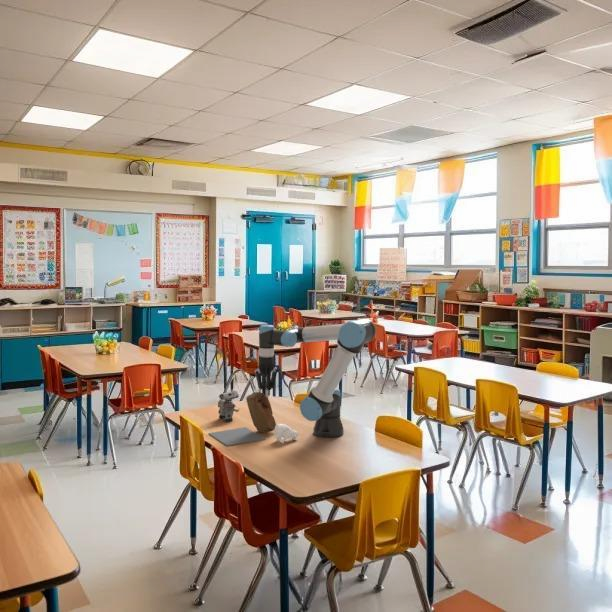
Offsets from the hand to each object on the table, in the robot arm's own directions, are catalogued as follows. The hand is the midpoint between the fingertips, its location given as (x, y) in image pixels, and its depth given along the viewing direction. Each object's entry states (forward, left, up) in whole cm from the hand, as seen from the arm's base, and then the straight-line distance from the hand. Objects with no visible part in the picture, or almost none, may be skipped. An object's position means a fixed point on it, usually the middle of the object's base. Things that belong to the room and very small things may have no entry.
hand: (265, 402), depth 300 cm
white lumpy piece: (-19, -2, -15) cm, 24 cm away
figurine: (+30, +6, -15) cm, 35 cm away
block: (-1, 0, -14) cm, 14 cm away
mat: (-1, +16, -15) cm, 22 cm away
